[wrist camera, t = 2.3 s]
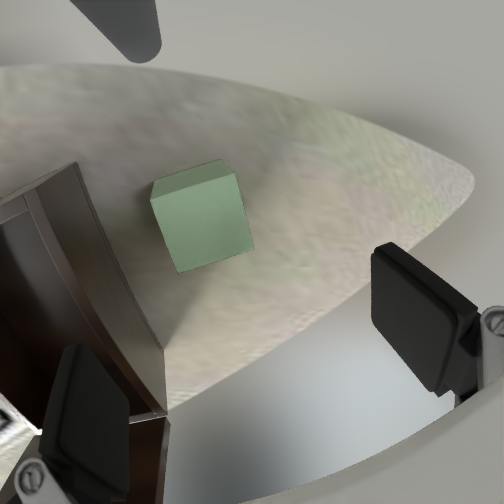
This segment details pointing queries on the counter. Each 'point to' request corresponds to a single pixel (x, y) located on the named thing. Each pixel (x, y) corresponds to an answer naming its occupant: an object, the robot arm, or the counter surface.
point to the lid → (140, 463)
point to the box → (68, 301)
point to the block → (201, 215)
